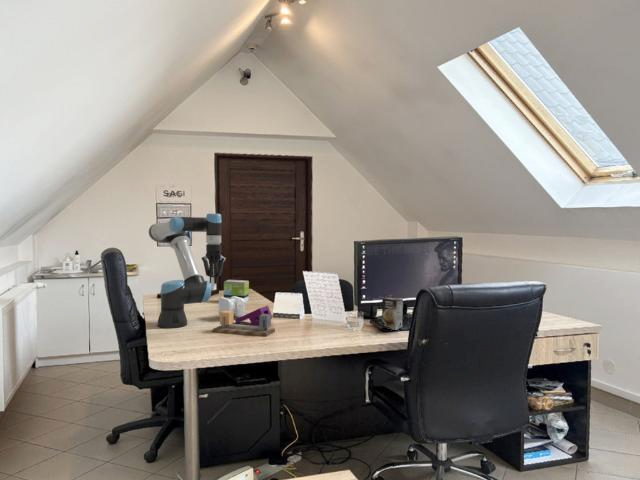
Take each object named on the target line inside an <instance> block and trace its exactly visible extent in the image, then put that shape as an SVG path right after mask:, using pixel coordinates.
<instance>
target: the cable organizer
mask: <svg viewBox="0 0 640 480" xmlns="http://www.w3.org/2000/svg"><path fill="white" fill-rule="evenodd" d="M245 306H246V303H245V300H244V299H243V298H239V297H236V296H232V297H231V299H227V298H224V296H221V297H219V298H218V315H219V317H220V312H222V311H233V317H237V318H240V317H242V316H244V315H246V311H245V310H246V309H245V308H246V307H245Z"/></svg>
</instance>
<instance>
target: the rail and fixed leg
mask: <svg viewBox="0 0 640 480" xmlns="http://www.w3.org/2000/svg"><path fill="white" fill-rule="evenodd" d="M271 315H272V313H271V314H262V315H260V320H259V326H253V325H252V324H251V325H249V324H239V323H236V324H235V323H232V324H230V325H225V327H227V328H240V329H253V330H261V331H264V330H265V331H267V330H269V328H271V326H272V321H271V320H272V319H271ZM220 326H221V327H222V324H220Z"/></svg>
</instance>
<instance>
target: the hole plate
mask: <svg viewBox="0 0 640 480" xmlns="http://www.w3.org/2000/svg"><path fill="white" fill-rule="evenodd" d="M211 330H212V333H220V334H221V333H222V334H232V335H243V336H244V335H245V336H259V337H268V336H270V335H271V334H274V333H275V332H276V328H274V327H273V328H271V327H269V330H267V331H265V330H264V331H261V330H253V329H240V328H227V327H224V328H222V327H221V325H219V326H217V327H214V328H212V329H211Z"/></svg>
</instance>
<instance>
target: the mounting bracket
mask: <svg viewBox="0 0 640 480" xmlns="http://www.w3.org/2000/svg"><path fill="white" fill-rule="evenodd" d="M262 314H271V320H272V318H273V317H272V316H273V315H272V313H271V310H270V307H269V305H266V306H263V307H260V308H258V309H255V310H252V311H251V312H249V313H245V315H244V316H242V317H240V318H239V317H237V318H235V319H234V320H235V321H234V322H235V323H236V324H239V323H241V322H244V321H246V320H248V319H249V321H250V323H251V326H259V320H260V315H262Z"/></svg>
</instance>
